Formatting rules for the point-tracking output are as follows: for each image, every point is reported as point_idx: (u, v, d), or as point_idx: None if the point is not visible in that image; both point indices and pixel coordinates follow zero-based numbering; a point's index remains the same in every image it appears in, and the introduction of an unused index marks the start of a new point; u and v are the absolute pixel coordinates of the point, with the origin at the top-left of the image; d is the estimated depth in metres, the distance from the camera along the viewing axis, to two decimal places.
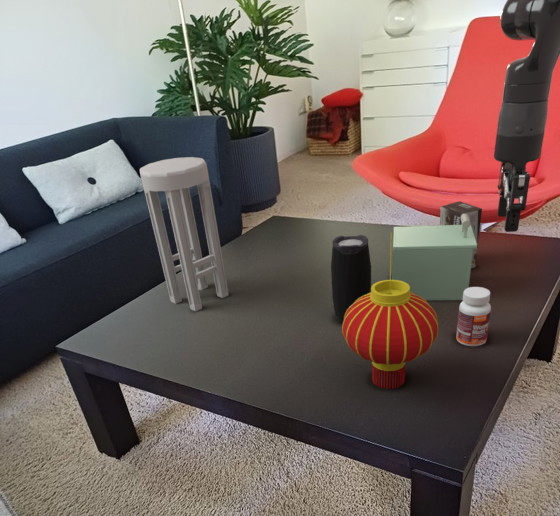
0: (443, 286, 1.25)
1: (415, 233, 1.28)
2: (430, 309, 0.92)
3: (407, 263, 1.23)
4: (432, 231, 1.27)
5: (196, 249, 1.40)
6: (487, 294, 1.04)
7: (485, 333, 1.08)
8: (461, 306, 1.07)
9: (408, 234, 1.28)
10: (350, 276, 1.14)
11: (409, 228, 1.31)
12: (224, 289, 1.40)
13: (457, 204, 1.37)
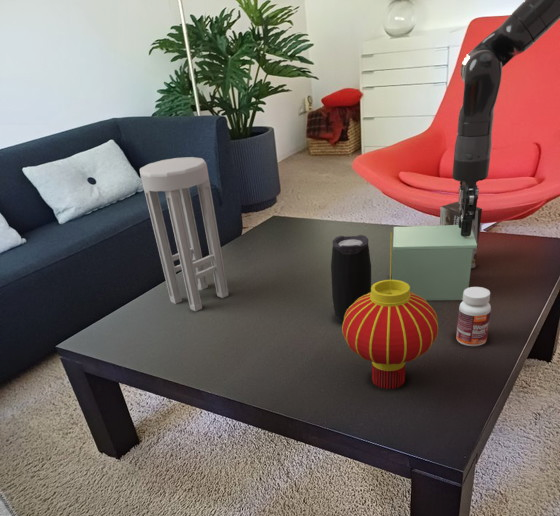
0: (443, 286, 1.25)
1: (415, 233, 1.28)
2: (430, 309, 0.92)
3: (407, 263, 1.23)
4: (432, 231, 1.27)
5: (196, 249, 1.40)
6: (487, 294, 1.04)
7: (485, 333, 1.08)
8: (461, 306, 1.07)
9: (408, 234, 1.28)
10: (350, 276, 1.13)
11: (409, 228, 1.31)
12: (224, 289, 1.40)
13: (457, 204, 1.37)
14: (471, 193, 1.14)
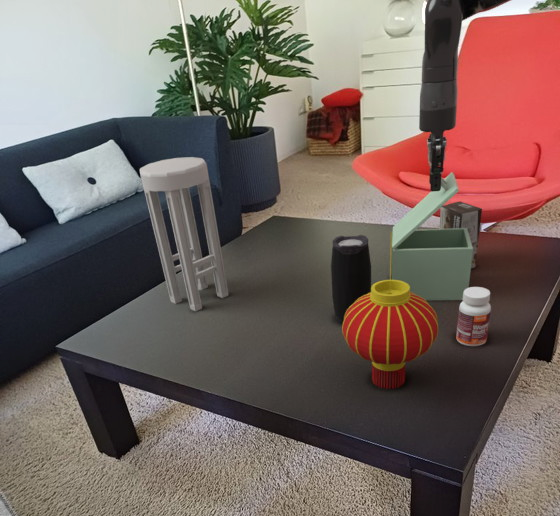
0: (443, 286, 1.25)
1: (408, 219, 1.26)
2: (430, 309, 0.92)
3: (407, 263, 1.23)
4: (421, 205, 1.24)
5: (196, 249, 1.40)
6: (487, 294, 1.04)
7: (485, 333, 1.08)
8: (461, 306, 1.07)
9: (403, 224, 1.27)
10: (350, 276, 1.14)
11: (404, 218, 1.30)
12: (224, 289, 1.40)
13: (457, 204, 1.37)
14: (438, 143, 1.09)
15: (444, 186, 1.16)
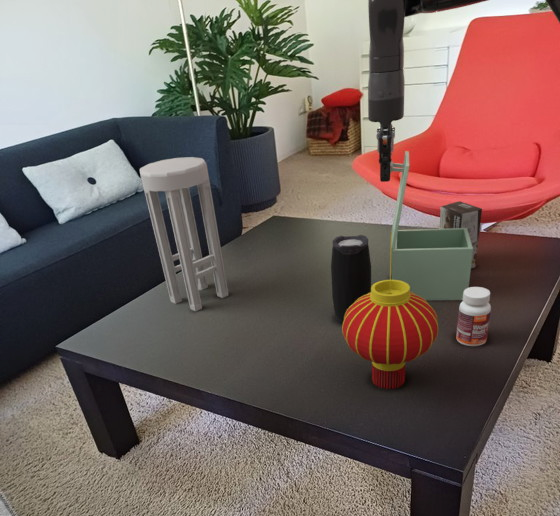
0: (443, 286, 1.25)
1: (395, 214, 1.26)
2: (430, 309, 0.92)
3: (407, 263, 1.23)
4: (398, 196, 1.24)
5: (196, 249, 1.40)
6: (487, 294, 1.04)
7: (485, 333, 1.08)
8: (461, 306, 1.07)
9: (394, 221, 1.27)
10: (350, 276, 1.13)
11: (394, 215, 1.30)
12: (224, 289, 1.40)
13: (457, 204, 1.37)
14: (385, 133, 1.10)
15: (399, 169, 1.16)
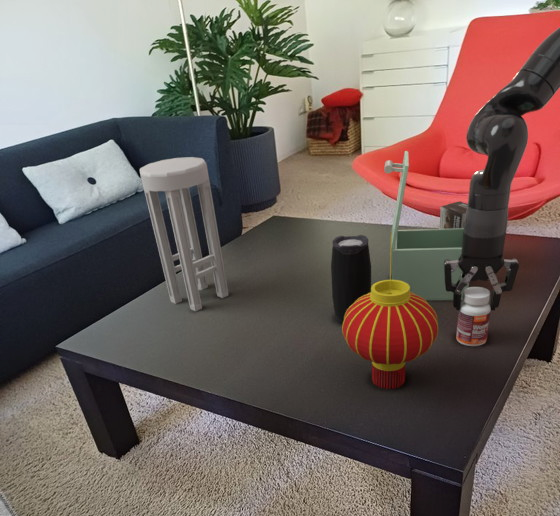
0: (443, 286, 1.25)
1: (395, 214, 1.26)
2: (430, 309, 0.92)
3: (407, 263, 1.23)
4: None
5: (196, 249, 1.40)
6: (487, 294, 1.04)
7: (485, 333, 1.08)
8: (461, 306, 1.07)
9: (394, 221, 1.27)
10: (350, 276, 1.13)
11: (394, 215, 1.30)
12: (224, 289, 1.40)
13: (457, 204, 1.37)
14: (452, 261, 1.03)
15: (398, 169, 1.16)
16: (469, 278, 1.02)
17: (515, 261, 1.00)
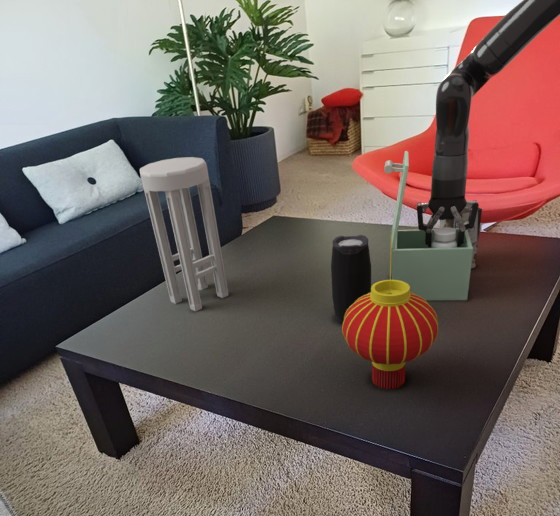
0: (443, 286, 1.25)
1: (395, 214, 1.26)
2: (430, 309, 0.92)
3: (407, 263, 1.23)
4: None
5: (196, 249, 1.40)
6: (453, 232, 1.23)
7: None
8: (432, 243, 1.26)
9: (394, 221, 1.27)
10: (350, 276, 1.13)
11: (394, 215, 1.30)
12: (224, 289, 1.40)
13: None
14: (423, 203, 1.22)
15: (398, 169, 1.16)
16: (437, 217, 1.21)
17: (475, 202, 1.19)
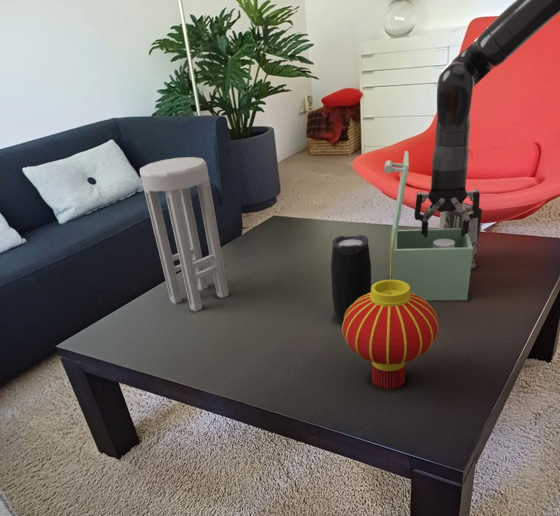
0: (443, 286, 1.25)
1: (395, 214, 1.26)
2: (430, 309, 0.92)
3: (407, 263, 1.23)
4: None
5: (196, 249, 1.40)
6: (452, 243, 1.25)
7: None
8: None
9: (394, 221, 1.27)
10: (350, 276, 1.13)
11: (394, 215, 1.30)
12: (224, 289, 1.40)
13: None
14: (424, 193, 1.20)
15: (398, 169, 1.16)
16: (438, 209, 1.20)
17: (476, 191, 1.18)
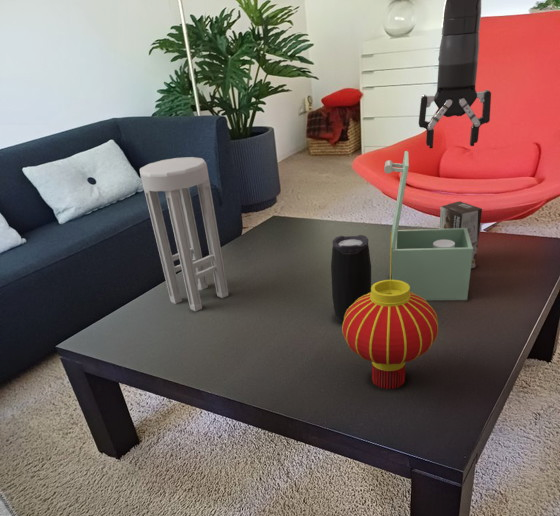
0: (443, 286, 1.25)
1: (395, 214, 1.26)
2: (430, 309, 0.92)
3: (407, 263, 1.23)
4: None
5: (196, 249, 1.40)
6: (452, 244, 1.25)
7: None
8: None
9: (394, 221, 1.27)
10: (350, 276, 1.13)
11: (394, 215, 1.30)
12: (224, 289, 1.40)
13: (457, 204, 1.37)
14: (429, 96, 1.09)
15: (398, 169, 1.16)
16: (444, 113, 1.09)
17: (487, 90, 1.06)
